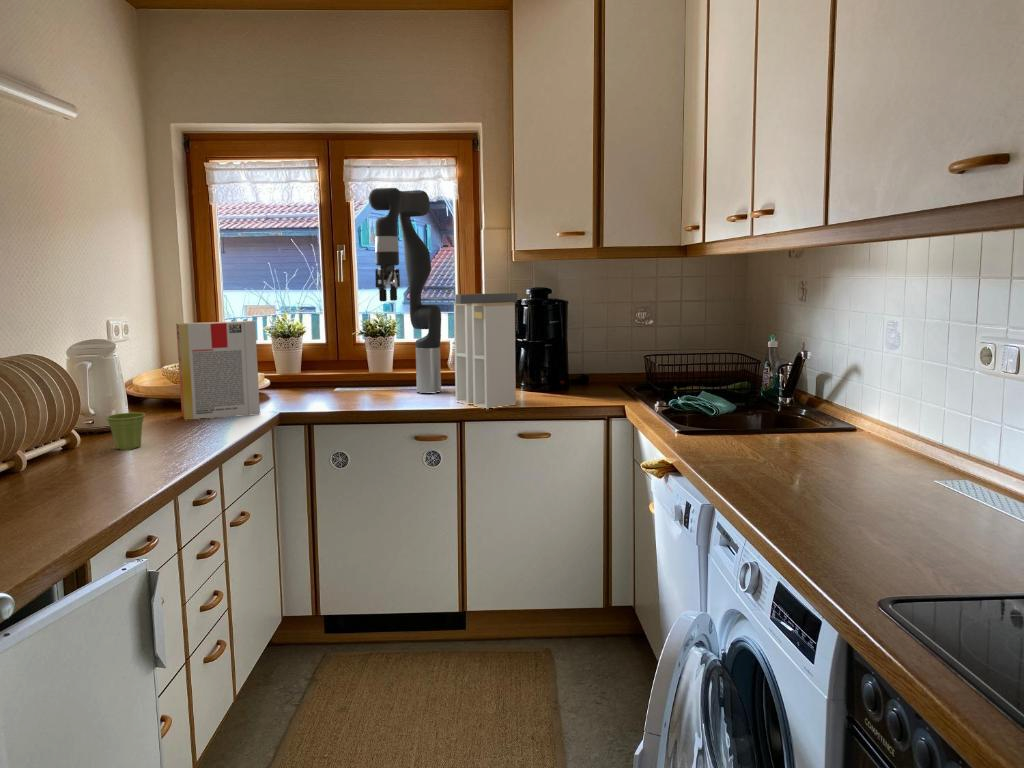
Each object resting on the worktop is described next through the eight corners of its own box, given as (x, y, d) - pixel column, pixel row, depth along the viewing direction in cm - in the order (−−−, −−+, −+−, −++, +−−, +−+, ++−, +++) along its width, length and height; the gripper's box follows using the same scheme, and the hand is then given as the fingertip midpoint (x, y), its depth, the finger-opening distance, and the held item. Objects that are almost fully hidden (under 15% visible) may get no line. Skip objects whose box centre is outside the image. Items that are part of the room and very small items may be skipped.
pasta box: (255, 410, 276) (250, 320, 272) (259, 414, 269) (255, 322, 265) (182, 416, 266) (176, 323, 262) (184, 420, 259) (178, 324, 255)
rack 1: (483, 399, 297) (482, 301, 292) (496, 401, 290) (495, 301, 286) (455, 402, 290) (453, 302, 285) (468, 405, 283) (466, 302, 279)
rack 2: (501, 402, 288) (500, 301, 283) (515, 405, 282) (514, 302, 277) (472, 406, 281) (470, 302, 276) (486, 409, 274) (484, 303, 270)
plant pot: (107, 453, 212) (104, 419, 211) (109, 446, 221) (106, 414, 219) (147, 449, 216) (145, 416, 215) (147, 443, 224) (145, 411, 223)
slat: (512, 301, 283) (511, 292, 283) (517, 301, 281) (517, 293, 280) (455, 303, 269) (455, 294, 269) (460, 303, 267) (460, 294, 267)
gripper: (388, 250, 261) (390, 301, 263) (406, 251, 275) (407, 300, 277) (367, 250, 263) (368, 301, 265) (385, 251, 276) (386, 300, 279)
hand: (388, 300), depth 271 cm, fingers open, 8 cm apart
